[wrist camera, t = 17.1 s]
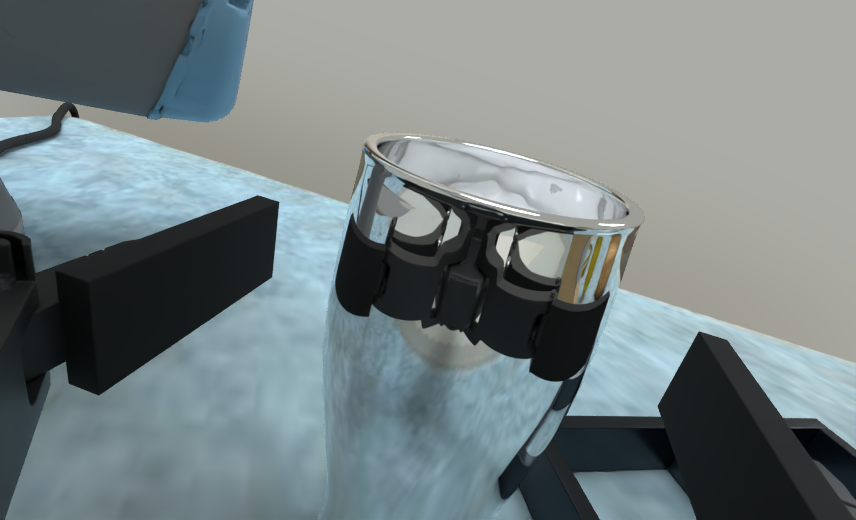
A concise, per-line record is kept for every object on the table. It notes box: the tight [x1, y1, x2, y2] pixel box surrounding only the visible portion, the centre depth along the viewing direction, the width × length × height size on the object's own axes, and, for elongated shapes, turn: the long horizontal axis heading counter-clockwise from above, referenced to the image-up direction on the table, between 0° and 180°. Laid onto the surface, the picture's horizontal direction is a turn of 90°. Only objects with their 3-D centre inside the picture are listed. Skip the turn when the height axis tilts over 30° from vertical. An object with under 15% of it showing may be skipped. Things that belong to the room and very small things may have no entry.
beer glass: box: [316, 133, 645, 520], centre depth 14 cm, size 7×7×15 cm
